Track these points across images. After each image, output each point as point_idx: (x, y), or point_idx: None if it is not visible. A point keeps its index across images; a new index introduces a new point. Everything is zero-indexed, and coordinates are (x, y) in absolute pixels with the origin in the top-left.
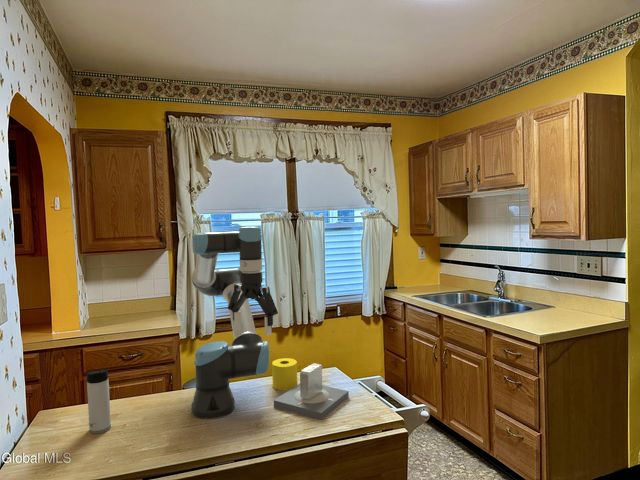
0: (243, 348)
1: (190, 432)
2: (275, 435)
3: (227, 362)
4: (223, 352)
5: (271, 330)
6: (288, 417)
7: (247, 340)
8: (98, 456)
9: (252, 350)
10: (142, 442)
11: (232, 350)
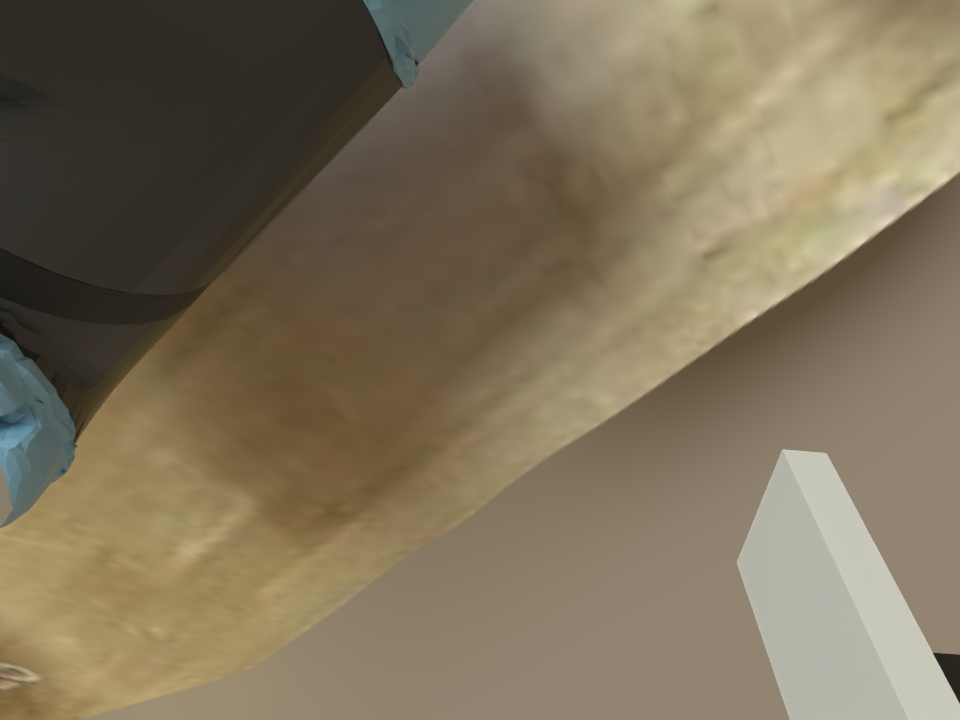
0: (148, 179)
1: (252, 395)
2: (725, 253)
3: (152, 338)
4: (61, 417)
5: (855, 512)
6: (724, 9)
7: (40, 40)
8: (86, 632)
9: (278, 110)
10: (132, 525)
11: (68, 290)
